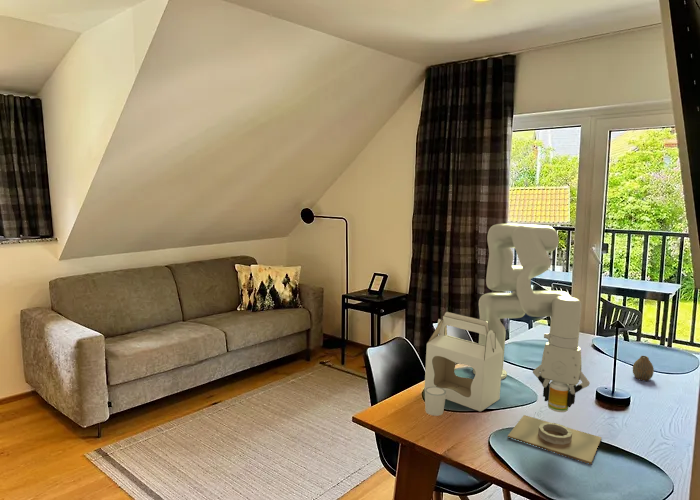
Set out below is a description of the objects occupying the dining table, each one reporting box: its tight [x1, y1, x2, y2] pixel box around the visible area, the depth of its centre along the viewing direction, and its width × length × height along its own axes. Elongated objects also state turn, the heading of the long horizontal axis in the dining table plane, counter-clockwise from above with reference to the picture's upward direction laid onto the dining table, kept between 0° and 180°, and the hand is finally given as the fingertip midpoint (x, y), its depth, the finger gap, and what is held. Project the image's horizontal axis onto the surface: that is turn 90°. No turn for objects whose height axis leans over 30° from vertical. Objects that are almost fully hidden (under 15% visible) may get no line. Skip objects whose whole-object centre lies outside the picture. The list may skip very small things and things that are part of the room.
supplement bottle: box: [547, 380, 570, 413], centre depth 141 cm, size 5×5×10 cm
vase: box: [632, 355, 655, 382], centre depth 189 cm, size 7×7×9 cm
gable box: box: [424, 311, 503, 412], centre depth 168 cm, size 22×13×28 cm, turn 47°
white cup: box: [424, 387, 447, 417], centre depth 157 cm, size 7×7×7 cm
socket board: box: [507, 414, 603, 465], centre depth 143 cm, size 22×16×3 cm
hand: (558, 402), depth 141 cm, fingers closed on supplement bottle, 5 cm apart
